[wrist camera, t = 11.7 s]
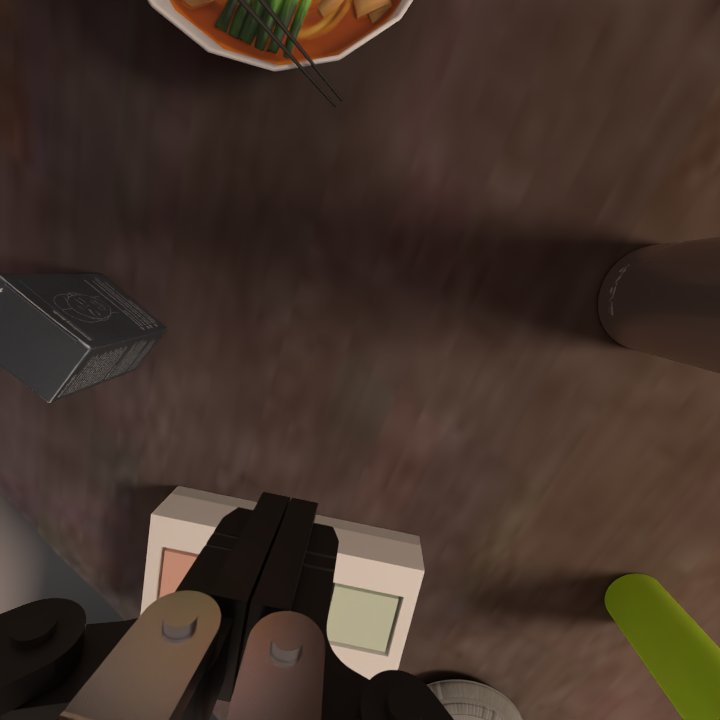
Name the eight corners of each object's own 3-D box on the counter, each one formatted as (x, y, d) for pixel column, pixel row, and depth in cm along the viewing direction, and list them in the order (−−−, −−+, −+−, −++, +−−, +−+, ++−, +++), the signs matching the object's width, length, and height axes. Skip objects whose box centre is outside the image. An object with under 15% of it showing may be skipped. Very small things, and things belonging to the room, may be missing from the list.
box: (69, 317, 38) (-48, 332, 27) (102, 272, 37) (-6, 269, 26) (135, 372, 38) (46, 406, 28) (169, 329, 37) (90, 348, 27)
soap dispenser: (683, 592, 41) (968, 883, 21) (629, 631, 42) (850, 941, 22) (646, 556, 40) (904, 821, 20) (592, 597, 41) (786, 884, 22)
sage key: (397, 575, 39) (398, 599, 36) (384, 625, 41) (384, 652, 38) (338, 563, 39) (334, 586, 37) (327, 613, 41) (323, 639, 38)
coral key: (239, 542, 39) (228, 563, 37) (231, 593, 41) (220, 617, 38) (180, 530, 39) (164, 550, 37) (174, 581, 41) (158, 605, 38)
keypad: (418, 535, 41) (424, 571, 36) (384, 664, 44) (385, 713, 39) (178, 485, 41) (151, 513, 36) (162, 618, 44) (135, 660, 39)
